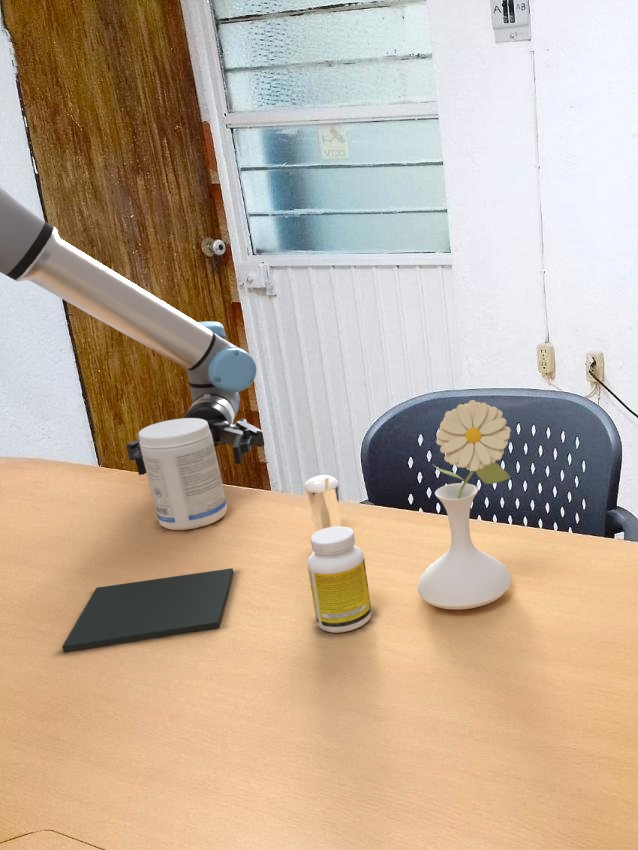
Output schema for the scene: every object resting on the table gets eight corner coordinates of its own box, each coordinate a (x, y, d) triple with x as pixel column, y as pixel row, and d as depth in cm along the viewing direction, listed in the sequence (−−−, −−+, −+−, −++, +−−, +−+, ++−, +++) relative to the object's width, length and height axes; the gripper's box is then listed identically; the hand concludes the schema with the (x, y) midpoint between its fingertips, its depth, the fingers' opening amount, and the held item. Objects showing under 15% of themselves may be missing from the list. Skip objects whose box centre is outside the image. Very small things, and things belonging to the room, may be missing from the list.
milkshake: (320, 549, 115) (310, 482, 111) (308, 536, 119) (297, 471, 115) (352, 540, 117) (343, 474, 114) (339, 527, 121) (330, 463, 118)
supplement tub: (232, 503, 131) (215, 414, 126) (222, 527, 122) (204, 433, 117) (166, 510, 129) (146, 420, 124) (151, 536, 120) (129, 440, 115)
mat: (63, 652, 92) (61, 646, 91) (97, 593, 104) (96, 587, 104) (219, 627, 96) (217, 621, 96) (233, 573, 108) (232, 567, 108)
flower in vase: (400, 611, 98) (376, 410, 90) (445, 567, 108) (427, 383, 100) (502, 627, 94) (487, 418, 86) (538, 580, 105) (528, 389, 96)
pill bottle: (383, 617, 97) (372, 532, 93) (337, 640, 93) (324, 551, 89) (351, 601, 101) (340, 518, 97) (306, 623, 96) (292, 536, 93)
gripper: (125, 408, 141) (92, 447, 122) (280, 394, 148) (271, 428, 129) (134, 449, 144) (103, 494, 125) (286, 433, 150) (278, 473, 131)
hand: (188, 461), depth 127 cm, fingers open, 13 cm apart
